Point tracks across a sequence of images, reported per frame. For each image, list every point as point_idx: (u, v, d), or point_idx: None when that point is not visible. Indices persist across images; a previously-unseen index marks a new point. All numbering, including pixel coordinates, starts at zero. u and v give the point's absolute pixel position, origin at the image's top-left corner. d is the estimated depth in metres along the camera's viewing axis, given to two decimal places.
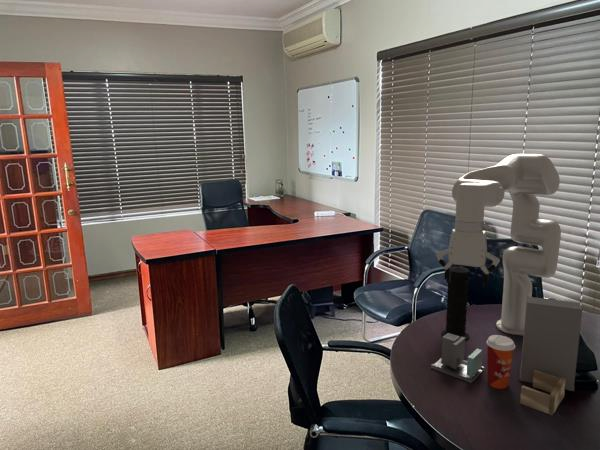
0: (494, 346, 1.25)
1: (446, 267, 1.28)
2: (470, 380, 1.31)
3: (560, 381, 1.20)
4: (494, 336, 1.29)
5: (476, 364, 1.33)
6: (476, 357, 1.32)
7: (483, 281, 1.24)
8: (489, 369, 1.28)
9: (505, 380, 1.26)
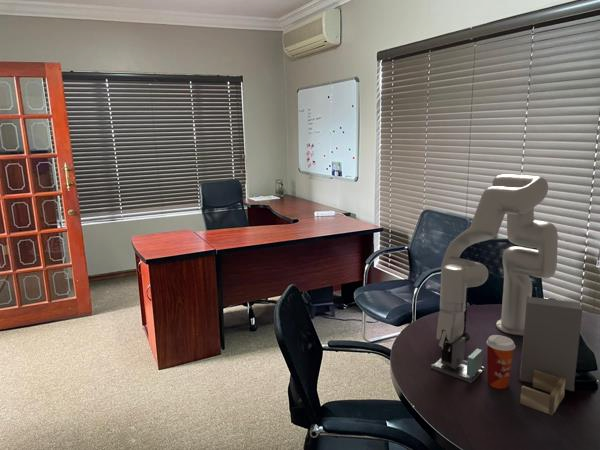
0: (494, 346, 1.25)
1: (450, 349, 1.36)
2: (470, 380, 1.31)
3: (560, 381, 1.20)
4: (494, 336, 1.29)
5: (476, 364, 1.33)
6: (476, 357, 1.32)
7: None
8: (489, 369, 1.28)
9: (505, 380, 1.26)
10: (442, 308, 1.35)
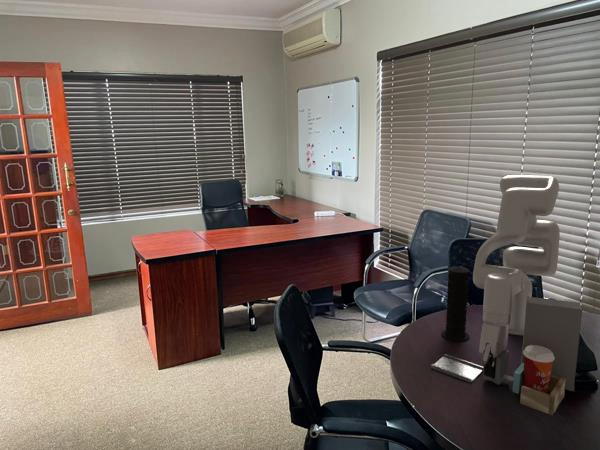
0: (534, 358, 1.18)
1: (494, 364, 1.27)
2: (470, 380, 1.31)
3: (560, 381, 1.20)
4: (530, 346, 1.23)
5: (522, 379, 1.24)
6: (523, 372, 1.23)
7: None
8: (526, 382, 1.21)
9: None
10: (486, 320, 1.26)
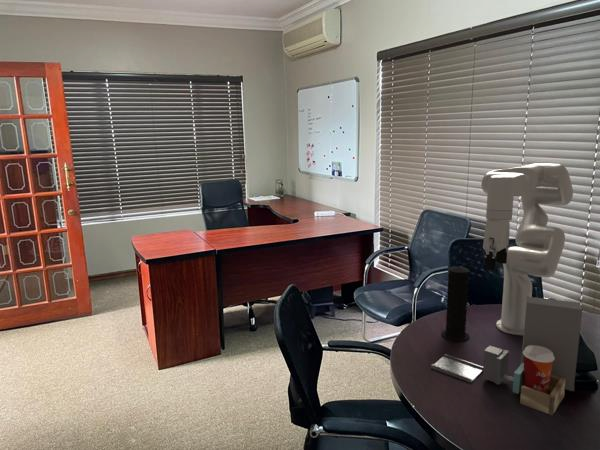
0: (533, 358, 1.18)
1: (494, 256, 1.36)
2: (470, 380, 1.31)
3: (560, 381, 1.20)
4: (530, 347, 1.23)
5: (522, 379, 1.24)
6: (523, 372, 1.23)
7: (506, 258, 1.44)
8: (527, 382, 1.21)
9: None
10: (489, 217, 1.38)
